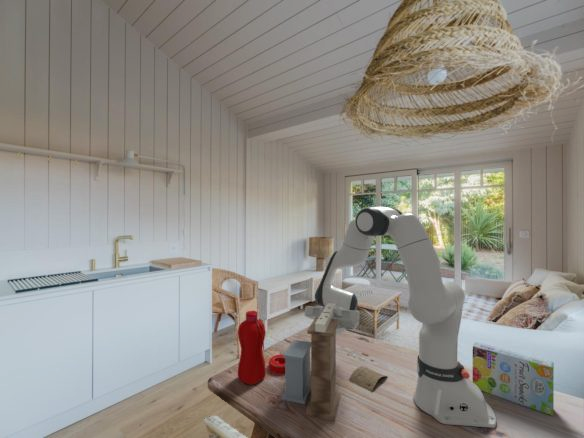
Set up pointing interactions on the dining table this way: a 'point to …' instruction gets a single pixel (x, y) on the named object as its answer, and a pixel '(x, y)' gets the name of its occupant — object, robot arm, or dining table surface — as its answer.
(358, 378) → the clay tablet
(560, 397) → the dining table surface
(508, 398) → the snack box
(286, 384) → the slate stand
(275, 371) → the decorative ornament
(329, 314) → the domino bar
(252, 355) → the water bottle
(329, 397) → the walnut pedestal
